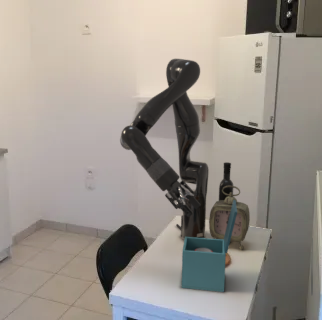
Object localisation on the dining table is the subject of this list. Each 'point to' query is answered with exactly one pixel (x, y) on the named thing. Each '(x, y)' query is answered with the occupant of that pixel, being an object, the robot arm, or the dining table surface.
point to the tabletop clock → (221, 217)
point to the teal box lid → (230, 226)
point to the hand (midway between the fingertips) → (194, 211)
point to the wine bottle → (225, 182)
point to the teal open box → (203, 264)
